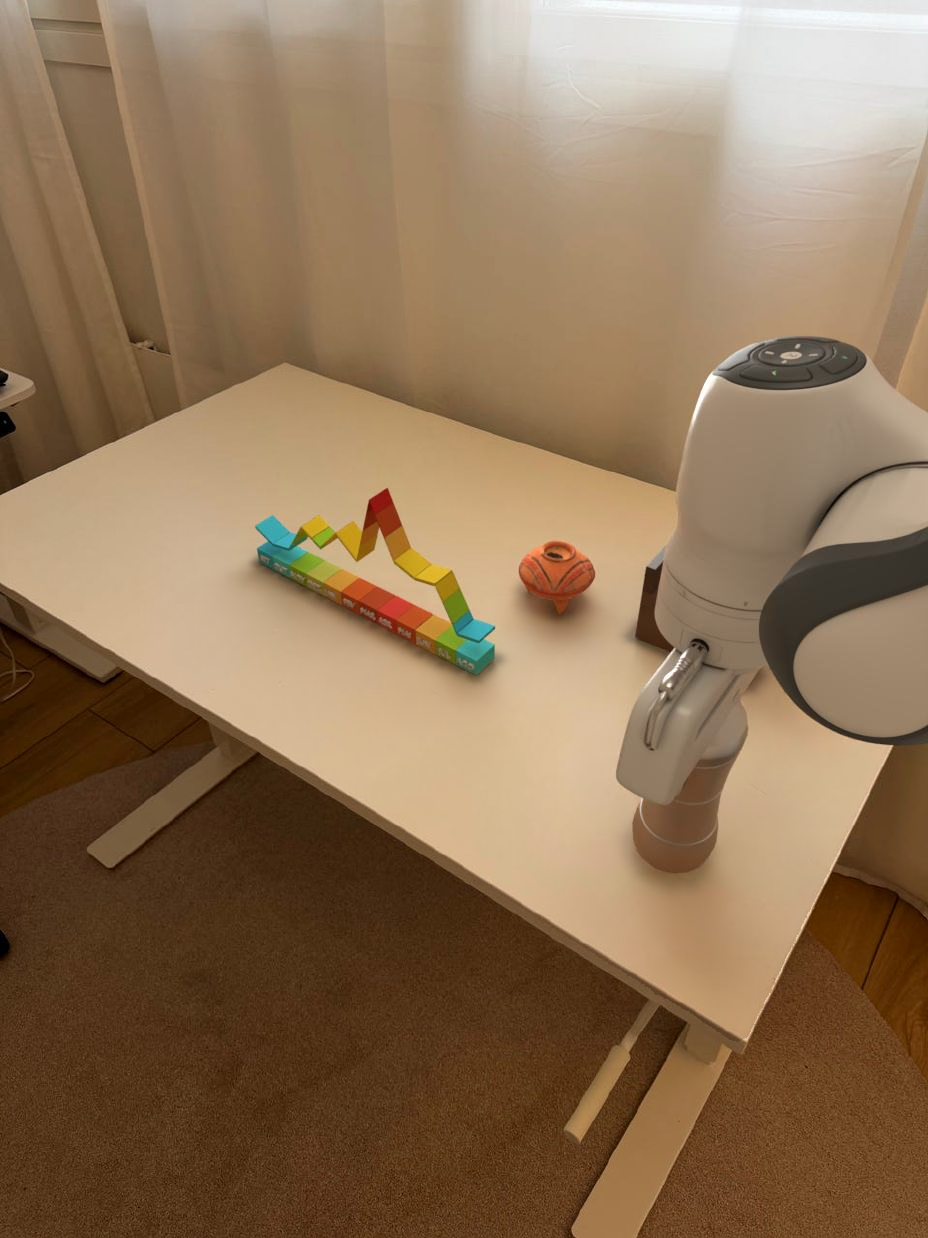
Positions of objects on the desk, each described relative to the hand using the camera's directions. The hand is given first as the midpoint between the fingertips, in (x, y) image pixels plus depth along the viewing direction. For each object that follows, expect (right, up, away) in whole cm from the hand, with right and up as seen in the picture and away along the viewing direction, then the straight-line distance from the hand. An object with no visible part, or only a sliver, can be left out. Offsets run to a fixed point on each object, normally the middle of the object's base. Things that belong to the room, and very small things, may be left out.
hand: (693, 751), depth 64 cm
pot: (-7, +12, +32) cm, 35 cm away
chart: (-26, +10, +31) cm, 42 cm away
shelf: (+10, +10, +29) cm, 32 cm away
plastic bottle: (0, -9, +8) cm, 12 cm away
